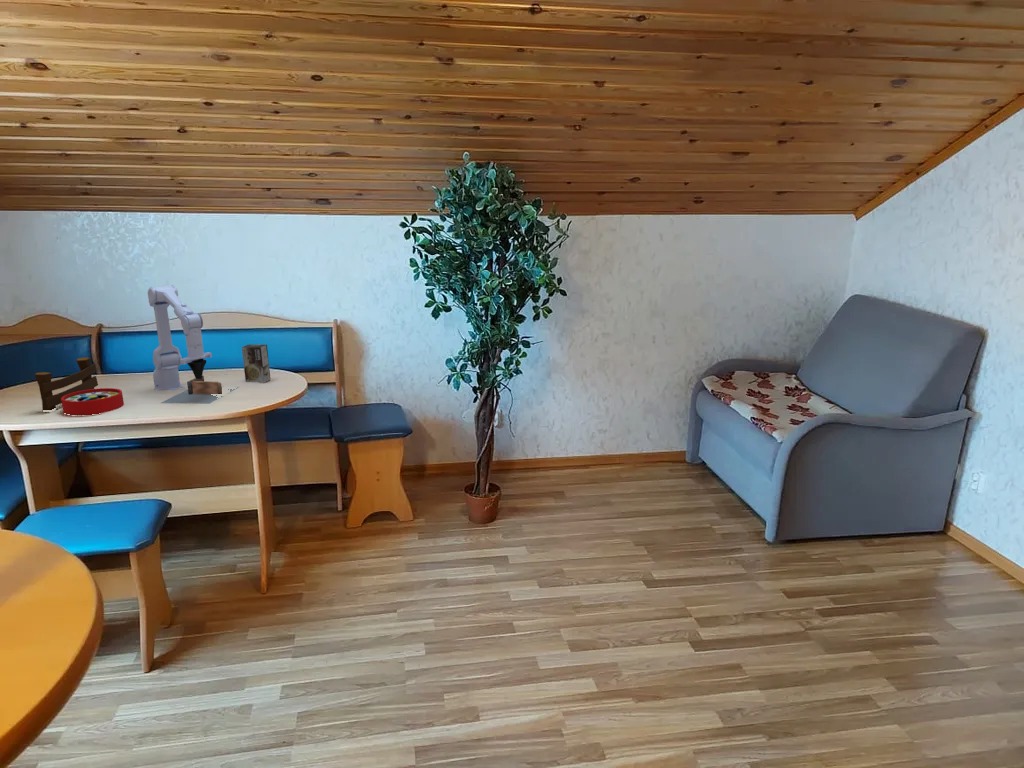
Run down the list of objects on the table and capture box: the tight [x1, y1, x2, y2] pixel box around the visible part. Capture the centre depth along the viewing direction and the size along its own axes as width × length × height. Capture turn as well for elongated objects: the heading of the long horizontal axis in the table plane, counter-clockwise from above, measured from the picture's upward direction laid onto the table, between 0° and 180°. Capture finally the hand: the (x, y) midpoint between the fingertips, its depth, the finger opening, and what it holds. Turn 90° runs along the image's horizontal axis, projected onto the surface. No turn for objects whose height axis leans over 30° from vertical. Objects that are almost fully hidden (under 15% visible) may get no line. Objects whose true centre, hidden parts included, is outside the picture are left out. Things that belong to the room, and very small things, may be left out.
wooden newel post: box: [192, 380, 223, 394], centre depth 279 cm, size 12×2×5 cm, turn 85°
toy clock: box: [61, 387, 125, 416], centre depth 261 cm, size 20×6×20 cm
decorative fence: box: [34, 356, 99, 411], centre depth 270 cm, size 34×6×15 cm, turn 2°
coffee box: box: [241, 343, 271, 383], centre depth 301 cm, size 9×6×16 cm
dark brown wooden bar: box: [186, 375, 205, 394], centre depth 285 cm, size 2×12×5 cm, turn 177°
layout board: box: [160, 386, 240, 405], centre depth 279 cm, size 20×26×1 cm
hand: (198, 378), depth 271 cm, fingers closed
